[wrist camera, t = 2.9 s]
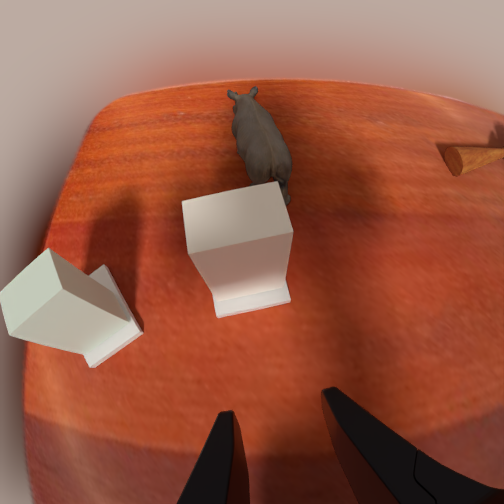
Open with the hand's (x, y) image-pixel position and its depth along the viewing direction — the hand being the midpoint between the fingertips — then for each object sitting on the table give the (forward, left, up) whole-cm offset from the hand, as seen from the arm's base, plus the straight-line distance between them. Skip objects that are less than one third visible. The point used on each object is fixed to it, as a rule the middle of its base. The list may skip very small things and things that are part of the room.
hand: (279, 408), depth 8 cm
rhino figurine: (-3, -21, -14) cm, 26 cm away
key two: (+13, -7, -14) cm, 20 cm away
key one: (0, -9, -13) cm, 15 cm away
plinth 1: (+13, -7, -14) cm, 20 cm away
